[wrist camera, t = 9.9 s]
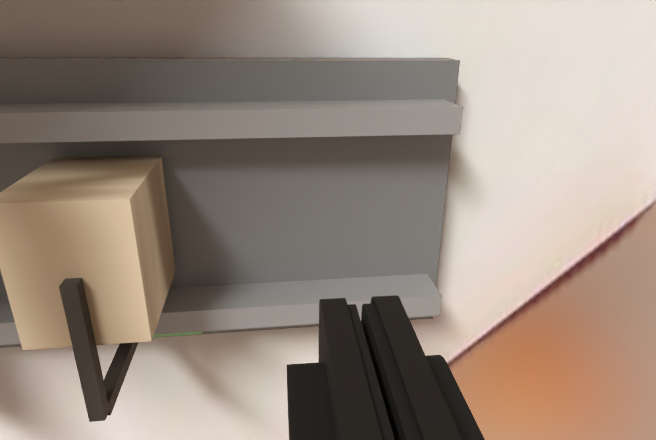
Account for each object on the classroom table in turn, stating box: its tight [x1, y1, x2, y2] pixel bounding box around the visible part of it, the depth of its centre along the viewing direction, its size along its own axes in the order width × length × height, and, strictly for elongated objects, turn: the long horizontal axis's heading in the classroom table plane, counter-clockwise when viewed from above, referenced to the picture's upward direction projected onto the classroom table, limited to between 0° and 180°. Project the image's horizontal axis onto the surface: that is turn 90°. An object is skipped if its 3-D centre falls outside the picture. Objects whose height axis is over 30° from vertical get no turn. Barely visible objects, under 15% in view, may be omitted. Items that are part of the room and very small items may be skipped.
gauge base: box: [0, 58, 463, 348], centre depth 18 cm, size 25×12×8 cm, turn 90°
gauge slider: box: [0, 156, 176, 422], centre depth 18 cm, size 4×8×6 cm, turn 179°
